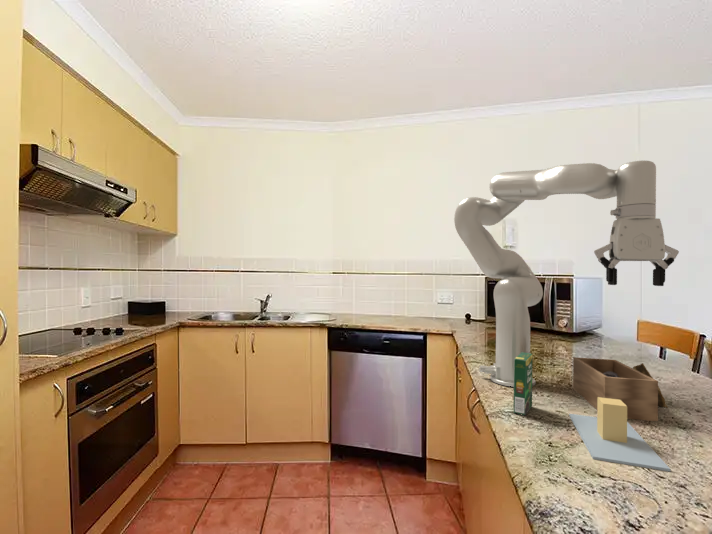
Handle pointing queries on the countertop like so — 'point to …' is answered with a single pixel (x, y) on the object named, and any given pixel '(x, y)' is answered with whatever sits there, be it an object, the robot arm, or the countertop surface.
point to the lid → (615, 437)
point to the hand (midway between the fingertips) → (634, 285)
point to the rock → (661, 399)
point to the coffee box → (523, 383)
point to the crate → (616, 386)
